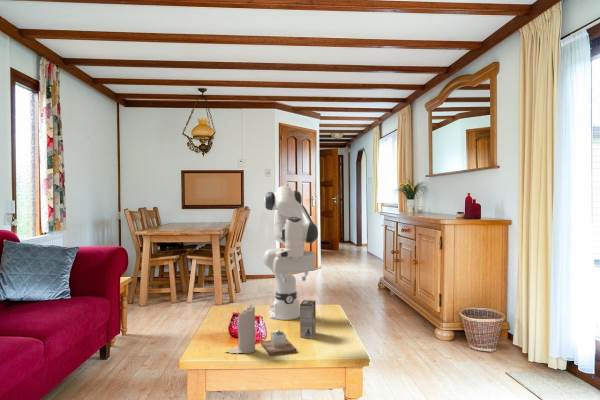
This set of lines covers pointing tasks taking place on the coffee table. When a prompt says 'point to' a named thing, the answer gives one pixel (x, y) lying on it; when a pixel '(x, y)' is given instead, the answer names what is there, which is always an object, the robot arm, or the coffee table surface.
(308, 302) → the coffee box
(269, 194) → the robot arm
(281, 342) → the collar
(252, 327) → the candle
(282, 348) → the post board
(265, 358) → the coffee table surface
